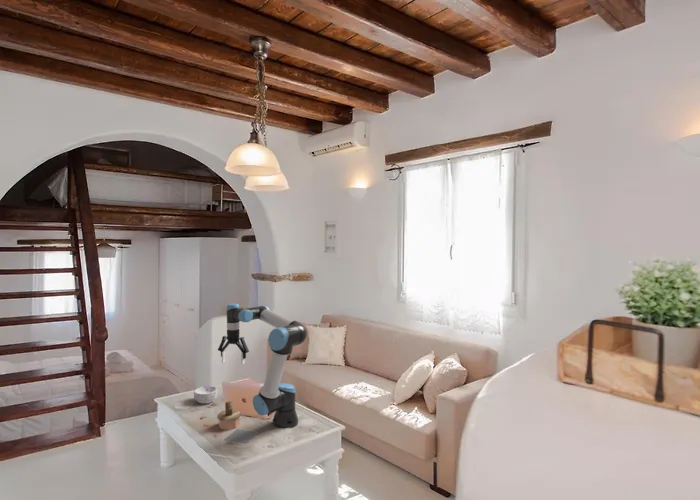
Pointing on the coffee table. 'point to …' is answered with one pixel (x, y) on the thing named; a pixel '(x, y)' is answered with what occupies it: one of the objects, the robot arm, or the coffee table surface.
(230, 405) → the lid
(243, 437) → the mat
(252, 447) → the coffee table surface
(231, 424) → the bowl
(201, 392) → the paper bowls
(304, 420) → the coffee table surface
